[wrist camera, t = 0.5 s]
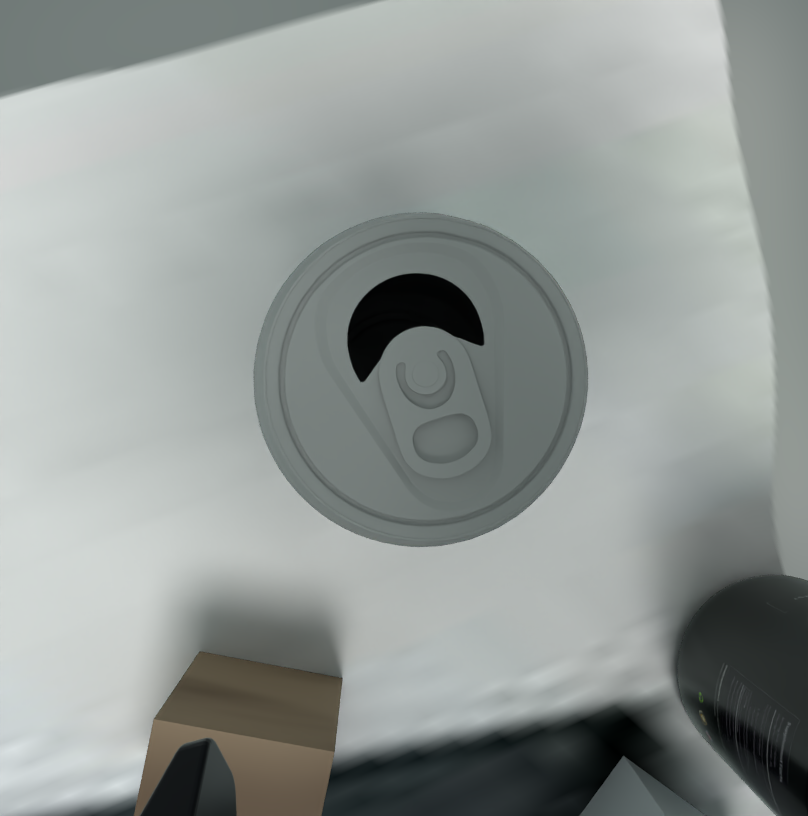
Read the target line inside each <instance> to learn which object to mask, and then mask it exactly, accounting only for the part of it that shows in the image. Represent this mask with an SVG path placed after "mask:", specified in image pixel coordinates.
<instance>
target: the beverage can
mask: <svg viewBox="0 0 808 816" xmlns="http://www.w3.org/2000/svg"><path fill="white" fill-rule="evenodd" d="M587 390H588V367H587V357H586V351H585V345H584V340H583V336H582V332H581V329H580V326H579V323H578V321H577V318H576V316H575V313H574V311H573V309H572V307H571V304H570V303H569V301H568V299H567V298H566V296H565V294H564V292H563V291H562V289H561V288H560V286H559V285H558V283H557V282H556V280H555V279H554V278H553V277H552V275H551V274H550V273H549V272H548V271H547V270H546V269H545V267H544V266H543V265H542V264H541V263H540V262H539V261H538V260H537V259H536V258H535V257H534V256H532V255H531V254H530V253H529V252H527V251H526V250H525V249H524V248H522V247H521V246H520V245H518V244H517V243H516V242H514V241H513V240H511V239H509V238H508V237H506V236H504V235H502V234H501V233H499V232H497V231H495V230H493V229H491V228H489V227H487V226H484V225H482V224H479V223H476V222H472V221H468V220H464V219H461V218H456V217H452V216H448V215H443V214H437V213H403V214H396V215H390V216H385V217H380V218H377V219H373V220H370V221H367V222H365V223H362V224H359V225H357V226H354V227H352V228H350V229H347V230H345V231H343V232H342V233H340V234H338V235H336V236H335V237H333V238H331V239H330V240H328V241H327V242H325V243H324V244H322V245H321V246H320V247H318V248H317V249H316V250H315V251H314V252H312V253H311V254H310V255H309V256H308V257H307V258H306V259H305V260H304V261H303V262H302V263H301V264H300V265H299V266H298V267H297V268H296V269H295V270H294V272H293V273H292V274H291V275H290V276H289V278H288V279H287V280H286V282H285V283H284V284H283V286H282V287H281V289H280V290H279V292H278V294H277V295H276V297H275V299H274V301H273V303H272V305H271V307H270V309H269V311H268V313H267V315H266V318H265V321H264V324H263V327H262V330H261V333H260V336H259V340H258V344H257V349H256V356H255V363H254V397H255V405H256V410H257V415H258V419H259V424H260V428H261V431H262V433H263V436H264V439H265V441H266V444H267V446H268V448H269V450H270V452H271V454H272V457H273V458H274V460H275V462H276V464H277V465H278V467H279V469H280V470H281V472H282V473H283V475H284V476H285V477H286V479H287V480H288V482H289V483H290V484H291V485H292V486H293V488H294V489H295V490H296V491H297V492H298V493H299V494H300V495H301V496H302V497H303V498H304V499H305V500H306V501H307V502H308V503H309V504H310V505H311V506H312V507H313V508H315V509H316V510H317V511H318V512H319V513H321V514H322V515H324V516H325V517H327V518H328V519H329V520H331V521H333V522H334V523H336V524H338V525H339V526H341V527H343V528H345V529H347V530H349V531H351V532H354V533H356V534H358V535H361V536H364V537H366V538H369V539H372V540H376V541H380V542H384V543H389V544H394V545H401V546H410V547H428V546H442V545H448V544H453V543H457V542H462V541H466V540H470V539H473V538H475V537H478V536H480V535H483V534H485V533H488V532H490V531H492V530H494V529H496V528H498V527H500V526H502V525H503V524H505V523H507V522H508V521H510V520H511V519H513V518H515V517H516V516H517V515H519V514H520V513H521V512H523V511H524V510H525V509H526V508H527V507H529V506H530V505H531V504H532V503H533V502H534V501H535V500H536V499H537V498H538V497H539V496H540V495H541V494H542V493H543V492H544V491H545V490H546V488H547V487H548V486H549V485H550V484H551V482H552V481H553V480H554V478H555V477H556V475H557V474H558V473H559V471H560V470H561V468H562V466H563V465H564V463H565V461H566V459H567V458H568V456H569V454H570V452H571V450H572V448H573V446H574V443H575V441H576V438H577V436H578V433H579V430H580V427H581V424H582V420H583V417H584V412H585V406H586V400H587Z"/></svg>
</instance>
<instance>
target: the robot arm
mask: <svg viewBox="0 0 808 816" xmlns="http://www.w3.org/2000/svg"><path fill="white" fill-rule="evenodd" d="M140 816H237V812H236V790H235V782H234V778H233V774H232V772H231V770H230V768H229V766H228V764H227V762H226V760H225V759H224V757H223V755H222V753H221V751H220V749H219V747H218V745H217V744H216V742H215V741H214V740H213V739H212V738H203V739H199V740H196V741H192V742H188V743H185V744H183V745H182V746H180V747H179V749H178V750H177V751H176V753H175V754H174V756H173V758H172V760H171V761H170V763H169V765H168V767H167V768H166V770H165V772H164V774H163V775H162V777H161V779H160V781H159V782H158V784H157V786H156V788H155V789H154V791H153V793H152V795H151V796H150V798H149V800H148V802H147V804H146V805H145V807H144V809H143V811H142V812H141V814H140Z"/></svg>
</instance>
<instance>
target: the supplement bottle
mask: <svg viewBox="0 0 808 816" xmlns="http://www.w3.org/2000/svg"><path fill="white" fill-rule="evenodd" d="M677 674H678V685H679V690H680V694H681V698H682V701H683V704H684V707H685V709H686V712H687V714H688V716H689V718H690V719H691V721H692V723H693V724H694V726H695V727H696V729H697V730H698V731H699V733H700V734H701V735H702V737H703V738H704V739H705V740H706V741H707V742H708V743H709V744H710V746H711V747H712V748H713V749H714V750H715V751H716V752H717V753H718V755H719V756H720V757H721V758H722V759H723V760H724V761H725V762H726V763H727V764H728V765H729V766H730V767H731V768H732V770H733V771H734V772H735V773H736V774H737V775H738V776H739V777H740V778H741V779H742V780H743V781H744V782H745V783H746V784H747V785H748V787H749V788H750V789H751V790H752V791H753V792H754V793H755V794H756V795H757V796H758V797H759V798H760V799H761V800H762V801H763V803H764V804H765V805H766V806H767V807H768V808H769V809H770V810H771V811H772V812H773V813H774V814H775V815H776V816H808V581H807V580H804V579H800V578H795V577H791V576H785V575H762V576H756V577H751V578H747V579H743V580H741V581H738V582H735V583H733V584H731V585H729V586H727V587H725V588H724V589H722V590H721V591H719V592H718V593H716V594H715V595H714V596H712V597H711V598H710V599H709V600H708V601H707V602H706V603H705V604H704V605H703V606H702V607H701V608H700V609H699V610H698V612H697V613H696V614H695V616H694V617H693V619H692V620H691V622H690V624H689V626H688V628H687V630H686V632H685V634H684V637H683V640H682V643H681V647H680V651H679V656H678V667H677Z"/></svg>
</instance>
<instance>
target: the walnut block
mask: <svg viewBox="0 0 808 816" xmlns="http://www.w3.org/2000/svg"><path fill="white" fill-rule="evenodd" d="M341 687H342V678H339V677H333V676H328V675H323V674H317V673H312V672H307V671H301V670H296V669H291V668H285V667H280V666H274V665H269V664H264V663H258V662H253V661H248V660H242V659H237V658H232V657H226V656H221V655H216V654H210V653H205V652H199V653H198V655H197V656H196V658H195V659H194V661H193V662H192V664H191V665H190V667H189V668H188V669H187V671H186V672H185V674H184V675H183V677H182V678H181V680H180V681H179V683H178V684H177V686H176V687H175V689H174V690H173V692H172V693H171V695H170V696H169V698H168V699H167V700H166V702H165V703H164V705H163V706H162V708H161V709H160V711H159V712H158V714H157V715H156V717H155V718H154V721H153V726H152V731H151V735H150V740H149V745H148V750H147V755H146V760H145V765H144V770H143V774H142V779H141V784H140V789H139V794H138V799H137V804H136V809H135V813H134V816H140V814H141V812H142V811H143V809H144V807H145V805H146V804H147V802H148V800H149V798H150V796H151V795H152V793H153V791H154V789H155V788H156V786H157V784H158V782H159V781H160V779H161V777H162V775H163V774H164V772H165V770H166V768H167V767H168V765H169V763H170V761H171V760H172V758H173V756H174V754H175V753H176V751H177V750H178V749H179V747H180V746H182V745H183V744H185V743H188V742H192V741H196V740H199V739H203V738H212V739H213V740H214V741H215V742H216V744H217V745H218V747H219V749H220V751H221V753H222V755H223V757H224V759H225V760H226V762H227V764H228V766H229V768H230V770H231V772H232V774H233V778H234V782H235V790H236V812H237V816H321V814H322V809H323V805H324V800H325V795H326V790H327V785H328V781H329V776H330V771H331V766H332V761H333V756H334V751H335V742H336V733H337V724H338V715H339V705H340V696H341Z"/></svg>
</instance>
